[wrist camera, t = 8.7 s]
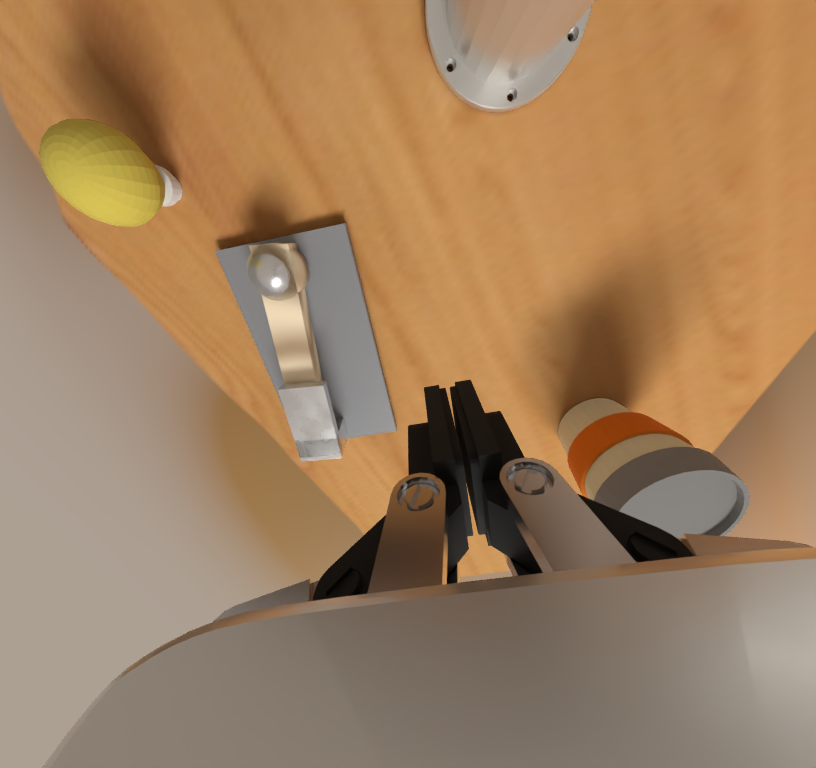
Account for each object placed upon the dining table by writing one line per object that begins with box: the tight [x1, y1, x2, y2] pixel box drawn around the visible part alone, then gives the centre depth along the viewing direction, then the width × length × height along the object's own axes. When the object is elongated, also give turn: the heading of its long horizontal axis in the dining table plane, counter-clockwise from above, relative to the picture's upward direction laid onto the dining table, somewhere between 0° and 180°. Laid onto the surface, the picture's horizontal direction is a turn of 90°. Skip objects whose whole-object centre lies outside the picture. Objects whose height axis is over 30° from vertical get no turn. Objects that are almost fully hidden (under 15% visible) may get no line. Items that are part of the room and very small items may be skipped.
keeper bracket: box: [278, 381, 348, 461], centre depth 37 cm, size 10×5×4 cm, turn 6°
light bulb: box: [39, 119, 182, 226], centre depth 25 cm, size 7×7×10 cm
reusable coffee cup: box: [558, 398, 750, 538], centre depth 35 cm, size 13×12×15 cm
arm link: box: [247, 242, 323, 385], centre depth 33 cm, size 19×5×2 cm, turn 3°
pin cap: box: [248, 254, 290, 296], centre depth 28 cm, size 4×4×1 cm
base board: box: [215, 223, 397, 439], centre depth 36 cm, size 25×14×1 cm, turn 11°
